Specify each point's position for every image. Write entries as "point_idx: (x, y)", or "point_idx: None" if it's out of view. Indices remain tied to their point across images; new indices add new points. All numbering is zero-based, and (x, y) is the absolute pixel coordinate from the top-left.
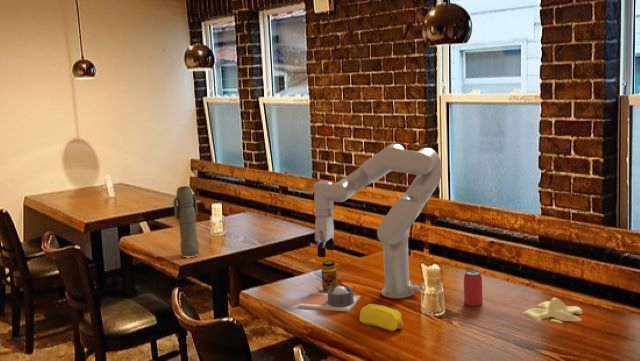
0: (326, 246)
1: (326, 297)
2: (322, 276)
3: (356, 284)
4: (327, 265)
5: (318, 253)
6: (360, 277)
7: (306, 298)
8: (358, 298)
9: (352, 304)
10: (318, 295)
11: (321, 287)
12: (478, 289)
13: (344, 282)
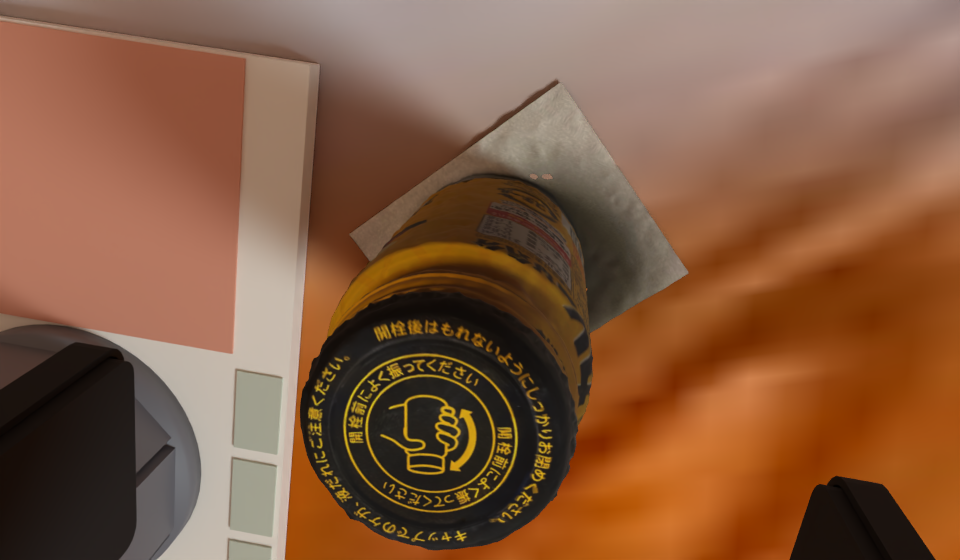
0: (855, 552)
1: (160, 287)
2: (400, 235)
3: (694, 523)
4: (302, 424)
5: (19, 406)
6: (950, 545)
7: (82, 48)
8: None
9: None
10: (204, 180)
11: (581, 133)
12: None
13: (775, 387)
